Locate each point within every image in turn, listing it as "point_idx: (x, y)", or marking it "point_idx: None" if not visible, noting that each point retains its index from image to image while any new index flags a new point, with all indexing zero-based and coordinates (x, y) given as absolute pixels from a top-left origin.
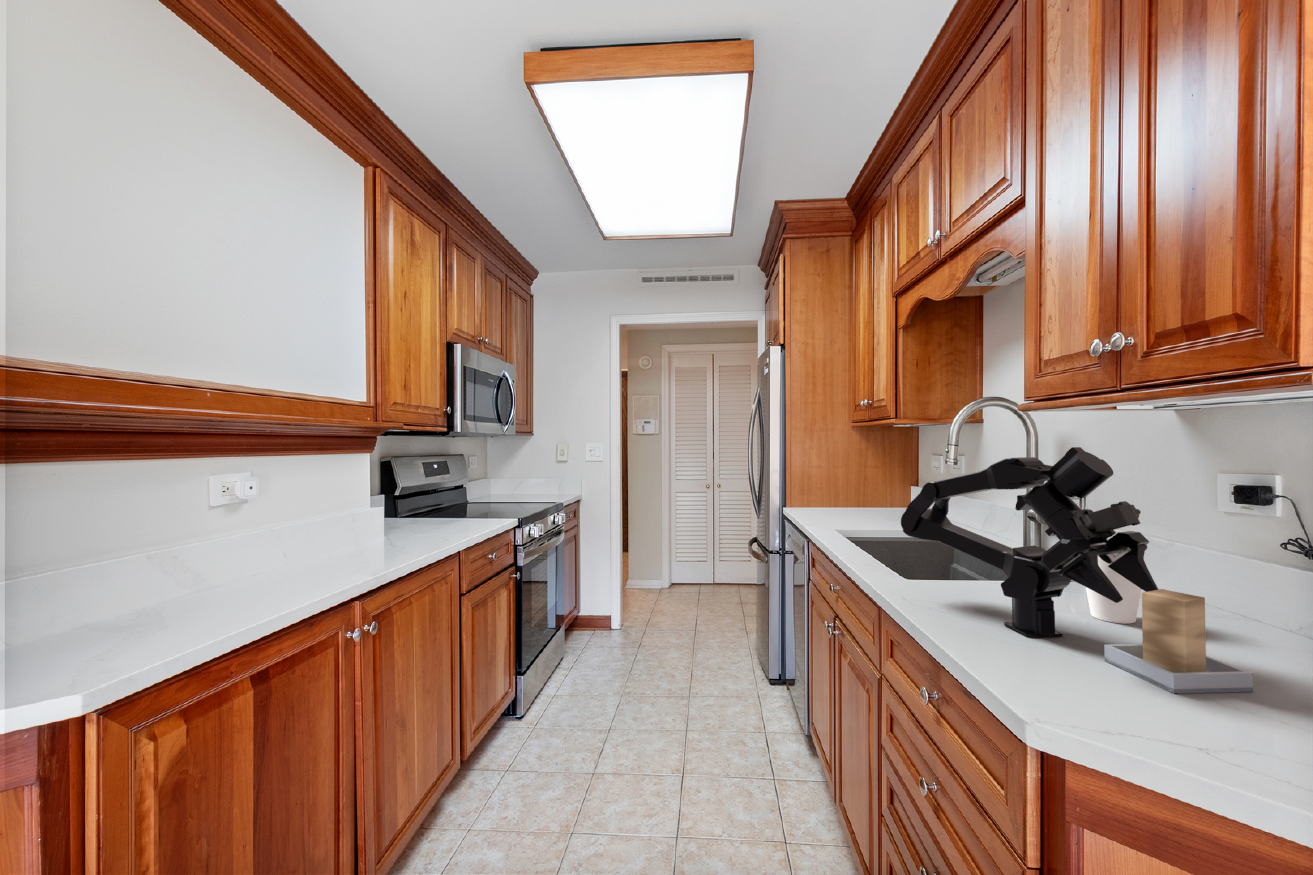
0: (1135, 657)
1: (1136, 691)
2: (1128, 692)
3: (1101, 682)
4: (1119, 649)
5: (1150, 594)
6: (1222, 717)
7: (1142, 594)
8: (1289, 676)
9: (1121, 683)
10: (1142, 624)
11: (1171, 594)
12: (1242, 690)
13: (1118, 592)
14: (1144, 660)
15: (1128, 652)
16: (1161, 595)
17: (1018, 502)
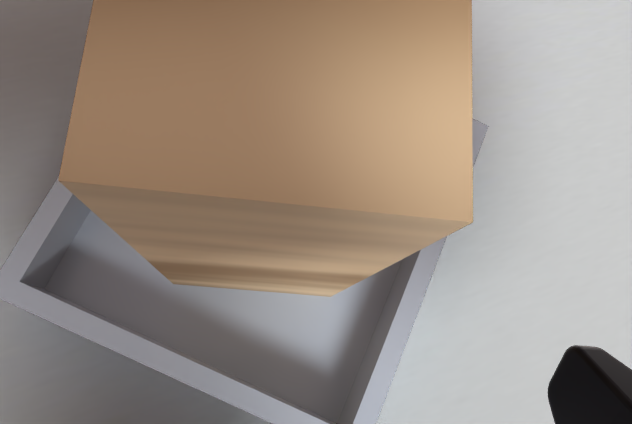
0: (416, 289)
1: (554, 223)
2: (588, 233)
3: (591, 323)
4: (304, 411)
5: (467, 146)
6: (513, 22)
7: (460, 222)
8: None
9: (532, 282)
10: (378, 271)
11: (278, 33)
12: None
13: (624, 386)
14: (420, 251)
15: (259, 389)
16: (413, 73)
17: None
